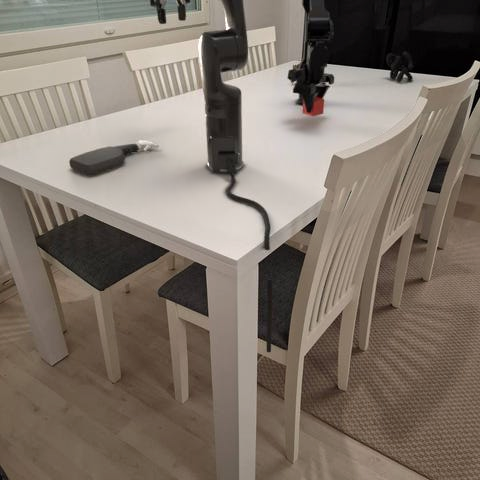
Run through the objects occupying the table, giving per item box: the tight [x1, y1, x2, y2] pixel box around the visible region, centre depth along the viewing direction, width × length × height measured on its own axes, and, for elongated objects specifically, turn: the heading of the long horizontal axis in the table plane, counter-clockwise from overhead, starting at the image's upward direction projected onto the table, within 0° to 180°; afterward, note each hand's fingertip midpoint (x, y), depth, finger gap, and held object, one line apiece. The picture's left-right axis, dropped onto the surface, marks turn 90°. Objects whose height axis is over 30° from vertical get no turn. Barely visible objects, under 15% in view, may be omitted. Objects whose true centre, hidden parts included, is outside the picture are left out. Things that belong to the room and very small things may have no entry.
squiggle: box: [385, 51, 414, 83], centre depth 198 cm, size 11×10×15 cm
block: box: [302, 97, 325, 117], centre depth 147 cm, size 5×5×5 cm
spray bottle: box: [68, 139, 160, 177], centre depth 124 cm, size 3×11×24 cm
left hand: (172, 22), depth 128 cm, fingers open, 8 cm apart
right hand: (312, 110), depth 148 cm, fingers closed on block, 5 cm apart
